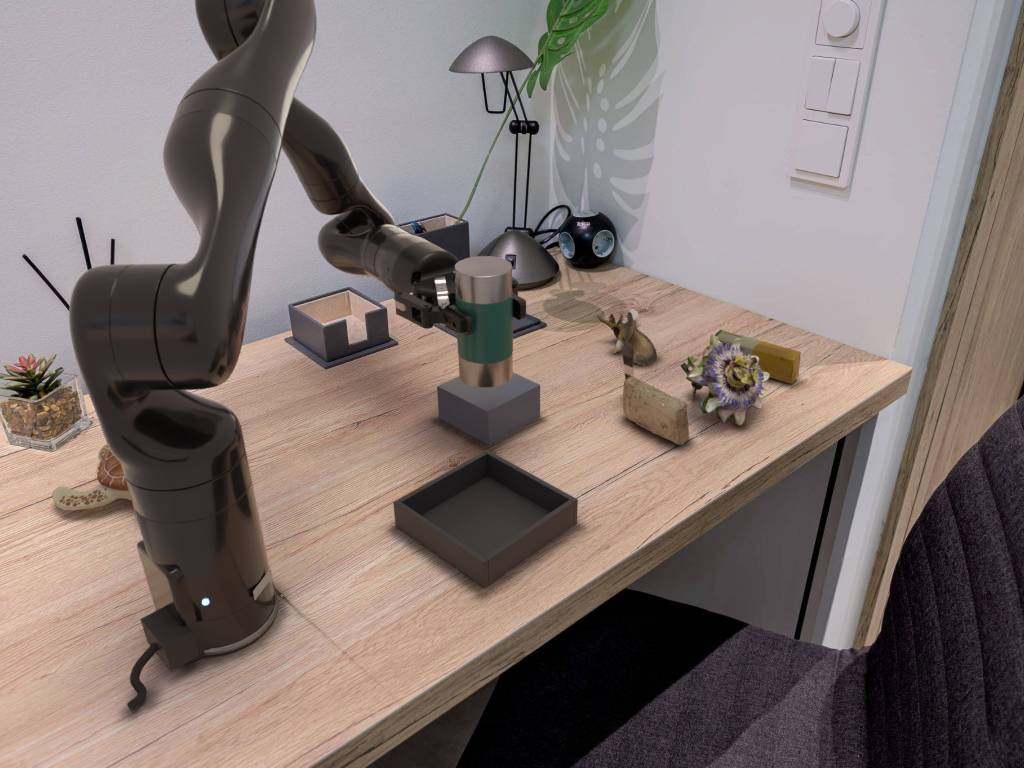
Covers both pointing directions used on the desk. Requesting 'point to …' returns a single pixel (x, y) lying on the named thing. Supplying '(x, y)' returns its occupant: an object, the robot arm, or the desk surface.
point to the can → (485, 320)
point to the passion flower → (727, 380)
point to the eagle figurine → (632, 337)
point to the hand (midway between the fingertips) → (497, 318)
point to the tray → (485, 516)
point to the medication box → (767, 356)
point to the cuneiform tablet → (654, 408)
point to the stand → (489, 407)
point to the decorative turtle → (106, 493)
